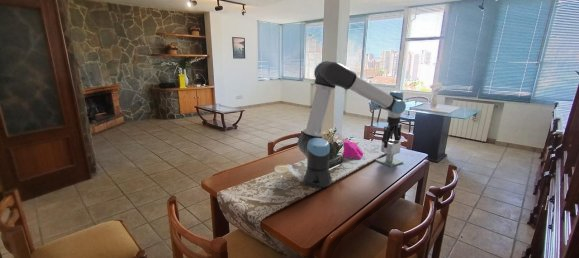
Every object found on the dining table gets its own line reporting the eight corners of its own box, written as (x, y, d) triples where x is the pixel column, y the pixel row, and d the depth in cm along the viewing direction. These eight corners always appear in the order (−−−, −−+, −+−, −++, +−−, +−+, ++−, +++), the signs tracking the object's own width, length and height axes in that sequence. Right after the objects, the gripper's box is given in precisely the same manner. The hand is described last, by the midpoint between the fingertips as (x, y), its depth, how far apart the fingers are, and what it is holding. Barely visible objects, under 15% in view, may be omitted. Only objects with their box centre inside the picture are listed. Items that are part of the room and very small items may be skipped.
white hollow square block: (391, 155, 166) (392, 144, 164) (381, 151, 173) (382, 141, 171) (399, 152, 170) (400, 142, 168) (389, 149, 177) (390, 139, 175)
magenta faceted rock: (342, 156, 183) (343, 142, 180) (346, 151, 192) (347, 138, 189) (360, 159, 178) (361, 144, 175) (363, 154, 187) (364, 140, 184)
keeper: (390, 167, 166) (392, 153, 163) (375, 160, 175) (376, 148, 173) (402, 163, 172) (404, 150, 169) (387, 157, 181) (388, 144, 179)
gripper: (387, 120, 157) (384, 156, 163) (410, 115, 167) (405, 149, 174) (377, 117, 163) (374, 152, 169) (399, 113, 173) (395, 146, 180)
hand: (390, 151), depth 171 cm, fingers closed on white hollow square block, 8 cm apart
